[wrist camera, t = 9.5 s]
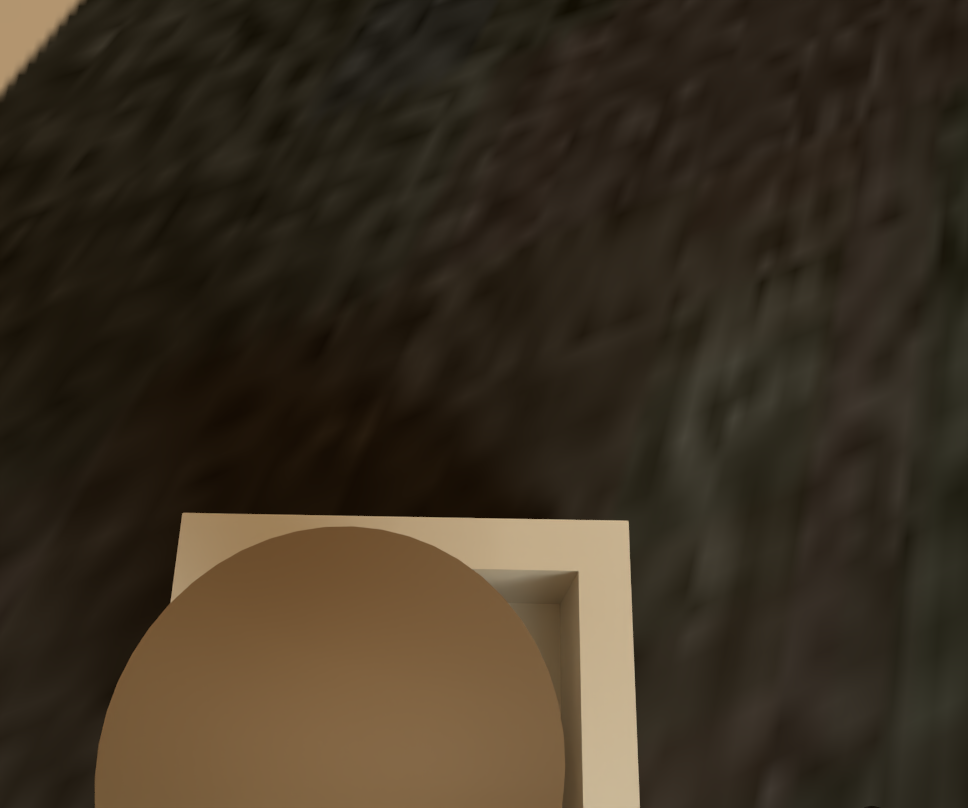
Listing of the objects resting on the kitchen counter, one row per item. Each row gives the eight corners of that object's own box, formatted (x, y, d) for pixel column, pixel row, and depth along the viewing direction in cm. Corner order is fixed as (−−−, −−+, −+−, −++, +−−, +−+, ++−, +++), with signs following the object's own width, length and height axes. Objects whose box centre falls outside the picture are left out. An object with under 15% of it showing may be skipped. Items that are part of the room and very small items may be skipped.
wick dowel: (476, 898, 16) (484, 1106, 6) (277, 828, 16) (10, 928, 7) (535, 687, 17) (615, 601, 8) (349, 626, 17) (209, 473, 8)
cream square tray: (608, 977, 16) (649, 1046, 12) (198, 970, 16) (111, 1037, 12) (596, 568, 18) (628, 521, 15) (242, 562, 18) (182, 513, 15)
